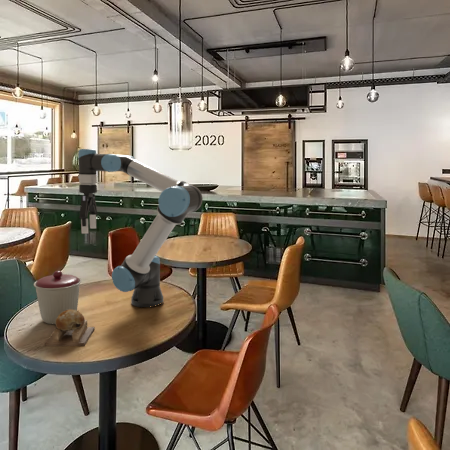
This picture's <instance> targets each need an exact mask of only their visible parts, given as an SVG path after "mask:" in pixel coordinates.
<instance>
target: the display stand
mask: <svg viewBox="0 0 450 450" xmlns="http://www.w3.org/2000/svg"><path fill="white" fill-rule="evenodd" d="M95 329H96V328H95V326H88V319H85V323H84V325H83V326H81V327H80V328H78V329H76V330H70V331H64V330H59V329H58V328H57V327H56V328H55V330H53V332H52V334H51V335H50V336H49V337H48V338H47V340H45V342H44V346H45V347H51V346H52V347H54V346H55V347H56V346H57V347H59V346H60V347H61V346H66V347H69V346H70V347H71V346H73V347H75V346H77V347H78V346H80V347H81V346H84V347H85V345H86V344H87V343H88V341H89V340H90V338H91V336H92V334H93V333H94V331H95Z"/></svg>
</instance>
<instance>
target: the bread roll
mask: <svg viewBox="0 0 450 450" xmlns="http://www.w3.org/2000/svg"><path fill="white" fill-rule="evenodd" d="M85 320H86V319H85V316H84V315H83V314H82V313H81V312H79V310H78V309H77V310H72V309H70V310H66V311H63V312H62V313H61V314H60V315H58V318H56V320H55V321H56V324H55V326H56V328H58V329H59V330H64V331H70V330H76V329H78V328H80V327H81V326H83V325H84V323H85Z"/></svg>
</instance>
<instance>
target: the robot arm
mask: <svg viewBox="0 0 450 450" xmlns="http://www.w3.org/2000/svg"><path fill="white" fill-rule="evenodd" d="M77 160H78V163H77V164H78V176H77V179H78V182H79V185H78V191H79V193H80V194H83V195H81V196H80V207H79V208H80V209H79V216H78V219H79V220H80V224H81V227H80V228H81V234H82V235H84V234H86V235H87V234H89V229H97V215H99V213H98V208H97V202H96V193H97V192H98V186H97V183H98V176H97V173H98V172H108V173H114V172H115V173H116V172H122V173H124V174H126V175H128V176H130V177H133V178H134V179H136V180H138V181H140V182H142V183H143V184H146V185H148V186H150V187H152V188H153V189H156V190H157V191H159V192H161V193H160V194H159V197H158V201H157V202H158V206H157V207H156V212H157V215H156V216H155V218H154V219H153V221H152V223H151V224H150V226H149V227H148V229H147V230H146V232H145V233H144V235H143V236H142V239H141V240H140V242H139V243H138V244H137V246H136V248H135V250H134V251H133V253H132V254H129V255H127V256H126V257H125V258H124V260H123V262H122V263H121V265H118V266H116V267H115V268H114V269H113V270H112V272H111V280H112V283H113V285H114V287H115V288H116V289H117V291H118V290H119V291H120V292H123V293H127V292H131V291H133V293H132V295H131V298H130V301H131V302H130V303H131V305H132V306H134V307H137V308H142V307H149V308H151V307H150V306H155V305H158V304H160V303H162V302H163V303H164V295H163V291H162V288H161V285H160V284H161V283H160V282H161V261H160V260H161V259H160V257H159V256H158V255H157V254H158V252H159V251H160V249H161V248H162V246H163V245H164V243H165V242H166V240H167V239H168V237H169V236H170V234H171V233H172V231H173V230H174V228H175V227H176V226H177V225H181V224H182V223H183V222H184V220H185V219H186V217H187V215H188V214H190V213H191V214H192V213H194V212H196V211H197V210H199V209H200V208H201V206H202V204H203V194H202V192H201V190H200V189H199V188H198V187H197V186H195V185H192V184H191V183H188V182H186V181H185V180H180V181H179V180H177V179H175V178H173V177H170V176H169V175H167V174H165V173H163V172H161V171H158V170H156V169H154V168H153V167H150V166H149V165H147V164H144V163H142V162H141V161H138V160H137V159H136V158H135V157H134V156H132V155H129V154H115V153H114V154H113V153H97V150H96V149H95V148H94V149H93V148H80V149H79V150H78V157H77ZM88 216H89V218H88ZM163 303H162V304H163Z"/></svg>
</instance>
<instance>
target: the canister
mask: <svg viewBox="0 0 450 450" xmlns="http://www.w3.org/2000/svg"><path fill="white" fill-rule="evenodd" d="M81 283H82V279H81V278H80V277H78V276H76V275H73V274H67V273H66V274H65V273H63V272H62V271H61V270H55V271H54V272H53V273H52V275H47V276H43V277H41V278H39V279H37V280H36V281H34V283H33V287H34V288H35V291H36V299H37V302H38V303H37V304H38V308H39V314H40V317H41V320H42V321H43V322H44V323H46V324H49V325H56V321H55V320H56V318H58V315H60V314H61V313H62V312H63V311H66V310H70V309H72V310H77V311H78V305H79V295H80V284H81Z"/></svg>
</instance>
